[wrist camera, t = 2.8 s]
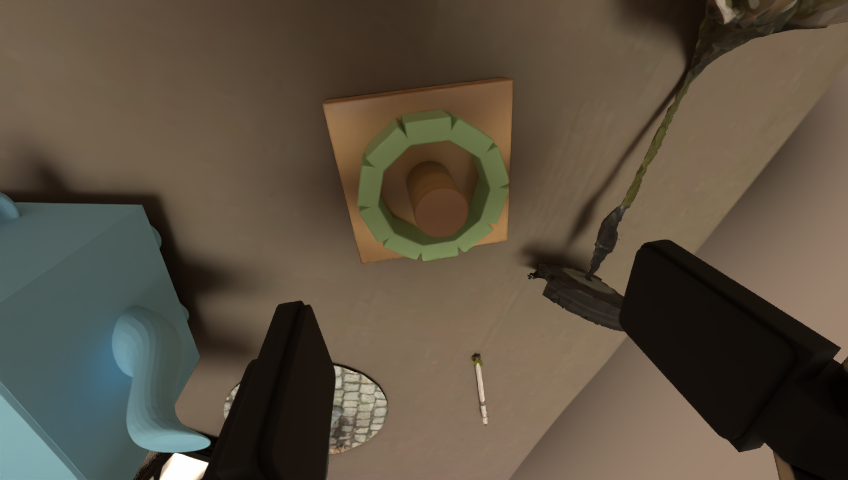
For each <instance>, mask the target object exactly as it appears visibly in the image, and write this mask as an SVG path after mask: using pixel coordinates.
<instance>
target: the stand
mask: <svg viewBox="0 0 848 480" xmlns="http://www.w3.org/2000/svg"><path fill="white" fill-rule="evenodd" d="M512 104H513V79H509V78H505V77H502V78H495V79H487V80H479V81H471V82H463V83H455V84H448V85H440V86H432V87H424V88H416V89H409V90H401V91H393V92H385V93H377V94H369V95H362V96H354V97H346V98H338V99H330V100H326V101H325V102H324V103H323V104H322V106H323V110H324V114H325V118H326V122H327V126H328V130H329V134H330V138H331V143H332V147H333V151H334V155H335V159H336V163H337V167H338V171H339V175H340V179H341V183H342V187H343V191H344V195H345V199H346V203H347V207H348V211H349V215H350V219H351V223H352V227H353V231H354V235H355V239H356V243H357V247H358V251H359V255H360V259H361V263H362V264H365V263H371V262H377V261H383V260H389V259H395V258H402V257H406V256H404V255H401V254H399V253H396V252H394V251H391V250H389V249H386V248H384V247H383V241H382V242H380V243H378V242H377V241H376V239H375V237H374V236H373V234H372V233H371V231H370V229H369V228H368V226H367V225H366V223H365V221H364V220H363V218H362V217H361V215H360V213H359V206H357V199H358V189H359V180H360V172H361V164H362V156H363V154H364V153H365V154H366V147H367V146H368V145H369V144H370V143H371V142H372V141H373V140H374V138H375V137H376V136H377V135H378V134H379V133H380V132H381V131H382V130H383V129H384V128H385V127H386V126H387V125H388V124H389V123H390V122H391V121H392V120H393V119H397V121H398V122H399V123H400V124H401V125H402V118H401V116H402V115H403V114H410V113H418V112H425V111H433V110H440V109H441V110H443V111H444V112H445V113H447V114H448V112H449V111H451V112H452V113H454V114H456V115H457V116H459V117H460V118H462V119H464V120H465V121H467V122H468V123H470V124H472V125H473V126H475V127H477V128H478V129H480V130H481V131H483V132H484V133H485V134H487V135H488V136H489V137H491V138H492V139H493V140H494V141H493V143H494V144H496V145H497V146H498V147H499V150H500V153H501V156H502V159H503V163H504V166H505V169H506V172H507V176H508V179H509V180H510V155H511V129H512ZM402 126H403V125H402ZM478 178H479V174H478V171H477V168H476V166H475V163H474V160H473V157H472V155H471V153H470V152H468V151H466V150H464V149H463V148H461V147H459V146H458V145H456V144H454V143H452V142H451V141H449V140H448V141H440V142H433V143H426V144H419V145H412V146H410V147H409V148H408V149H407V150H406V151H405V152H404V153H403V154H402V155H401V156H399V157H398V158H397V159H396V160H395V161H394V162H393V163H392V164H391V165H390V166H389V167H388V168H387V169H386V170H385V171H384V174H383V180H382V186H381V193H380V196H381V197H382V199H383V201H384V203H385V204H386V206H387V208H388V210H389V212H390V213H391V215H392V217H395V218H397V219H399V220H401V221H404V222H406V223H408V224H410V225H413V226H415V227H417V228H419V229H420V230H421V231H422V232H424V233H425V234H427V235H429V236H432V237H446V236H450V235H452V234H454V233H456V232H457V231H458V230H460V229H461V228H462V226H463V225H464V224H465V222H466V220H467V217H468V212H469V208H468V206H469V205H470V204H471V201H472V198H473V194H474V191H475V188H476V184H477V181H478ZM506 186H507V188H508V189H509V183H508V184H506ZM508 205H509V192H508V195H507V198H506V200H505V203H504V206H503V209H502V212H501V214H500V217H499V220H498V223H497V224H490V226H491V227H492V229H493V230H492V231H491V232H490V233H488V234H487V235H486V236H485V237H483V238H482V239H481V240H480V241H478V242H477V243H476V244H475V245H473V246H476V245H482V244H488V243H494V242H500V241H506V240H507V230H508Z"/></svg>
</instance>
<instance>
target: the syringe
mask: <svg viewBox="0 0 848 480" xmlns="http://www.w3.org/2000/svg"><path fill="white" fill-rule="evenodd" d="M472 358H473V361H474V367H475V366H476V374H477V382H478V389H479V397H480V404H481V411H482V412H481V411H480V412H481V413H482V419H483V423H484V424H485V426H486V424H487V414H486V411H487V410H486V406H485V398H484V390H483V382H482V373H481V367H480V365H482V361H481V360H480V359H481V358H480V355H479V357H478V356H475V357H473V356H472ZM488 417H489V416H488Z"/></svg>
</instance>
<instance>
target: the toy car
mask: <svg viewBox="0 0 848 480" xmlns="http://www.w3.org/2000/svg"><path fill="white" fill-rule="evenodd" d="M215 445H216V443H214V442H211V441H210V445H209V446H208V447H206V448H204V449H200V450H196V451H189V452H174V453H172V452H162V454H161V455H160V457H159V458H158V459H157V460H156V461H155V463H154V464H153V465H152V466H151V467H150V468H149V469H148V470H147V471H146V473H145V474H144V475H143V476H142V477H141V478H140V479H139V480H202V478H203V475H204V473H205V470H206V468H207V465H208V463H209V460H210V458H211V455H212V453H213V450H214V448H215Z"/></svg>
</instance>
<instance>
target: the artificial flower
mask: <svg viewBox="0 0 848 480" xmlns="http://www.w3.org/2000/svg"><path fill="white" fill-rule="evenodd" d="M842 22H848V0H707V2H706V17H705V19H704V20H703V21H702V23H701V26H700V29H699V40H698V42H697V45H696V50H695V53H694V55H693V58H692V65H691V68H690V70H689V72H688V74H687V75H686V77H685V79H684V81H683V83H682V85H681V87H680V88H679V90H678V92H677V93H676V96H675V101H674V103H673V104H672V105H671V106H670V107H669V108H668V111H667V114H666V116H665V118H664V120H663V122H662V124H661V126H660V127H659V129H658V130H657V132H656V134H655V136H654V138H653V140H652V143H651V146H650V148H649V150H648V152H647V154H646V156H645V158H644V161H643V163H642V164H641V166H640V168H639V170H638V171H637V174H636V177H635V179H634V181H633V183H632V185H631V186H630V188H629V190H628V192H627V194H626V197H625V199H624V200H623V202H622V203H621V205H620V206H618V207H617V208H616V209H614V210H613V211H612V212H611V213H610V214H609V215H608V216H607V217H606V218H605V219H604V220H603V222H602V224H601V227H600V229H599V232H598V237H597V241H596V243H595V244H594V245H595V246H596V247H595V251H594V252H593V258H592V260H591V264H590V265H591V269H590V271H589V272H588V273H587V272H586V271H585V270H583V269H580V268H578V267H571V266H570V267H567V266H563V265H560V264H558V265H548V264H546V265H544V264H540V263H539V265H538V269H537V271H535V272H534V273H530V275H532V276H533V278H532V276H530V275H528V274H527V275H528V276H529V278H528V279H530V278H532V279H534V278H543V279H545V280H546V281H547V282H548V283H547V285H546V287H545V290H544V292H543V294H542V295H544V296H545V297H547V298H549V299H550V300H551V301H552V302H554V303H558V305H560V306H561V307H562V308H565V309H566V310H567V311H569V312H571V313H574V314H576V315H577V316H580V317H582V318H584V319H586V320H588V321H591V322H594V323H595V324H597V325H598V324H599V325H601V326H604V327H607V328H610V329H613V330H618V331H624V330H623V329H622V328H621V326H620V323H619V313H620V310H621V306H622V303H623V299H624V297H623V296H622V295H620V294H619V293H618V292H617V291H615V290H614V289H612V288H610V287H609V286H608V285H607V284H605V283H604V282H602V281H601V280H602V279H601V278H599V277H597V276H595V275H593V274H594V273H595V272H596V271H597V270H598V268H599V267H600V263H601V262H602V261H603V260H604V259H605V257H606V256H607V254H609V253H611V252H612V251H613V249H614V247H615V244H616V241H617V236H618V232H617V230H616V229H617V226H618V223H619V222H620V221H621V219H622V216H623V214H624V212H625V210H626V209H627V208H629V207H630V205H631V203H632V202H633V200H634V199H635V197H636V195H637V192H638V190H639V187H640V184H641V182H642V177H643V176H644V174H645V173H646V169H647V166H648V165H649V164H650V163H651V161H652V160H653V158H654V157H655V155H656V154H657V150H658V149H659V148H660V146H661V144H662V140H663V138H664V136H665V135H666V131H667V129H668V125H669V124H670V123H671V121H672V118H673V115H674V113H675V112H676V111H677V109H678V106H679V103H680V101H681V99H682V98H683V96H684V95H685V94H686V93H687V90H688V88H689V84H690V83H691V82H692V81H693V80H694V79H695V78H696V77H697V76H698V75H699V74H700V73H701V72H702V71H703V70H704V68H705V67H706V66H707V65H708V64H710V63H711V62H712V61H714V60H715V59H717V58H718V57H720V56H721V55H723V54H725V53H727V52H729V51H731V50H733V49H734V48H736V47H738V46H740V45H742V44H744V43H746V42H748V41H749V40H751V39H754V38H757V37H764V36H767V35H770V34H774V33H779V32H783V31H788V30H794V29H818V28H826V27H827V26H828V25H832V24H837V23H842ZM621 236H622V235H621ZM618 240H620V239H618ZM624 332H625V331H624Z"/></svg>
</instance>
